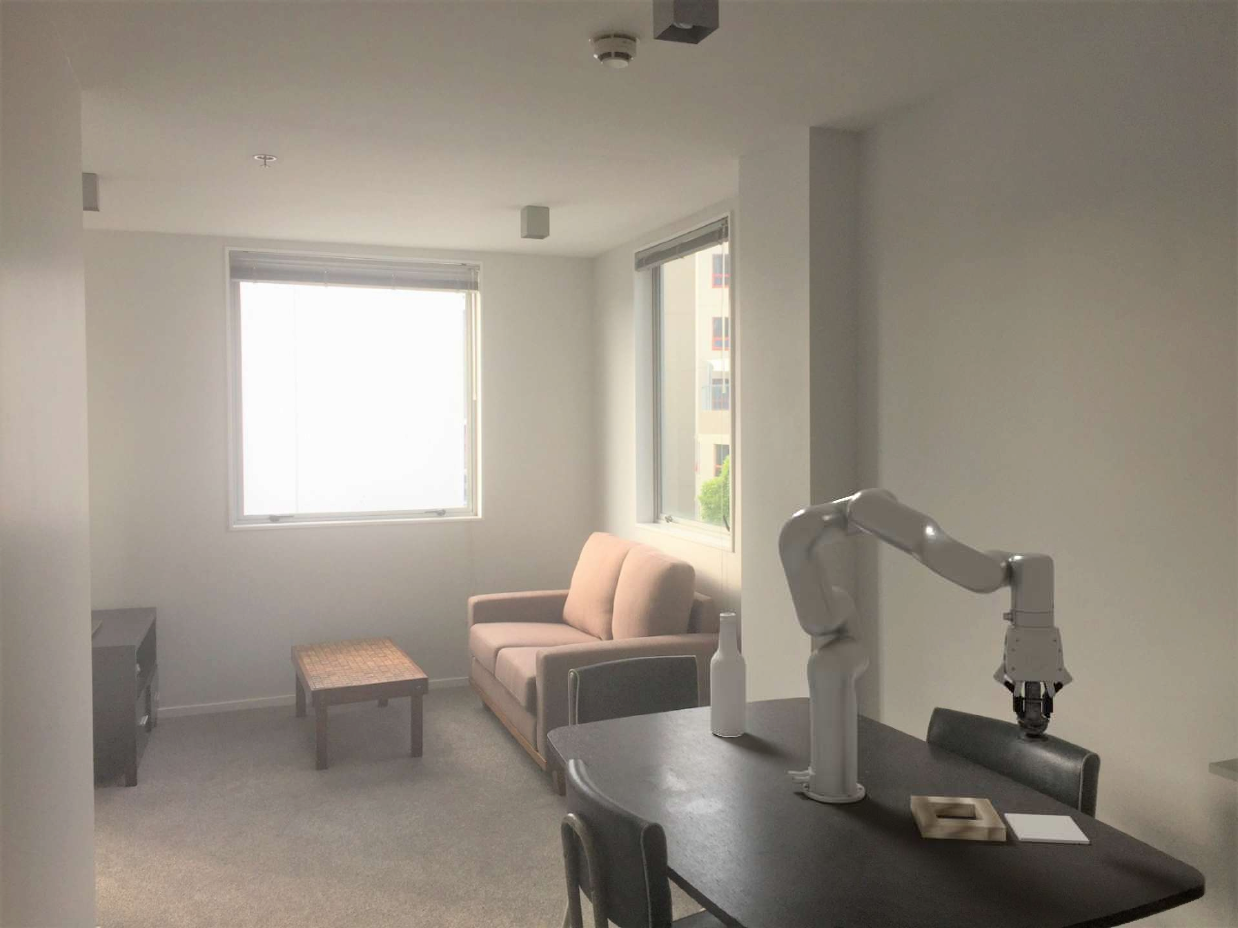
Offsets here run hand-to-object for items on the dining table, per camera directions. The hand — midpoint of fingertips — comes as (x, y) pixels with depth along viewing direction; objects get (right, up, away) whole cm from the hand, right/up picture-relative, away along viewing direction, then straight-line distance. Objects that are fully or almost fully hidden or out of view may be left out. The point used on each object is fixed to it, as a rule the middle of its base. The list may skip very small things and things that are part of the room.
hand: (1032, 715), depth 190 cm
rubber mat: (+2, -22, 0) cm, 22 cm away
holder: (-13, -22, +3) cm, 26 cm away
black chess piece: (0, -5, 0) cm, 5 cm away
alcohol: (-50, -20, +63) cm, 83 cm away
